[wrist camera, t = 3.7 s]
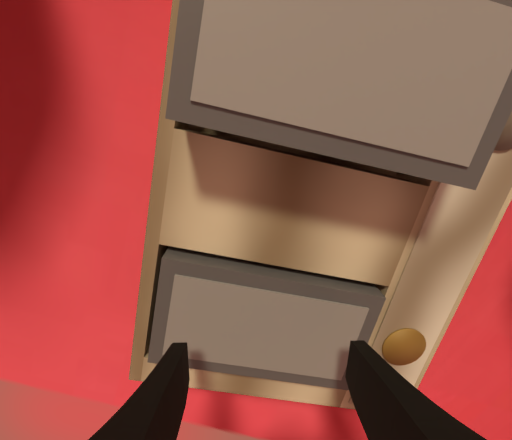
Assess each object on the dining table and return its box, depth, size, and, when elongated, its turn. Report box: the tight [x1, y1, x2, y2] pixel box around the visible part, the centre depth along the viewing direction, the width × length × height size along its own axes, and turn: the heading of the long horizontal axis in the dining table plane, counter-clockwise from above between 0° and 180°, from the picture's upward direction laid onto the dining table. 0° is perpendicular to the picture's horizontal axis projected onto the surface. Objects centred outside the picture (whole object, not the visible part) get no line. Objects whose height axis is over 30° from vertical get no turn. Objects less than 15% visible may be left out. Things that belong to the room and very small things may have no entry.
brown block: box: [147, 246, 386, 390], centre depth 16 cm, size 11×6×4 cm, turn 78°
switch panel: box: [129, 0, 512, 409], centre depth 15 cm, size 16×22×4 cm
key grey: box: [165, 0, 512, 190], centre depth 10 cm, size 11×6×4 cm, turn 78°
